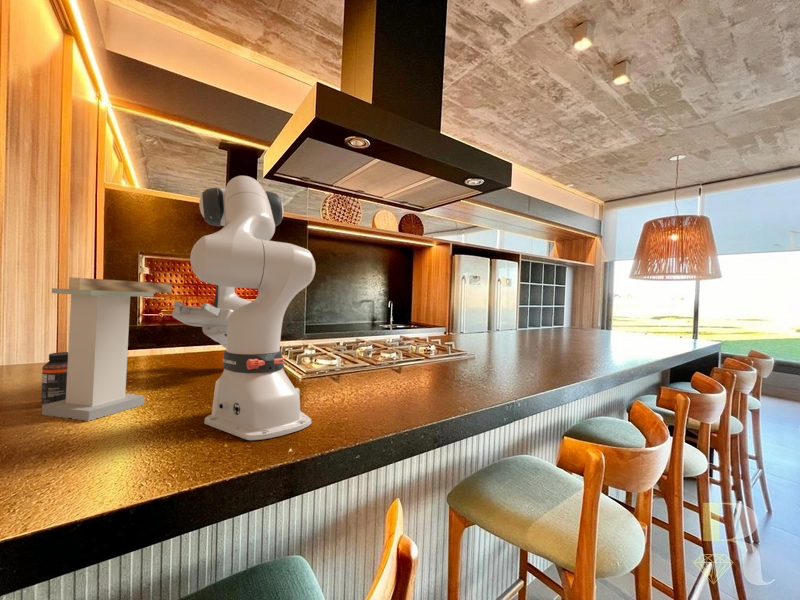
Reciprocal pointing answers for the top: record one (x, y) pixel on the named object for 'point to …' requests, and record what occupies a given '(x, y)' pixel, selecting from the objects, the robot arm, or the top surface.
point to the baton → (117, 285)
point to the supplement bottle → (54, 378)
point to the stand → (96, 355)
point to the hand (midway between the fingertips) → (189, 304)
